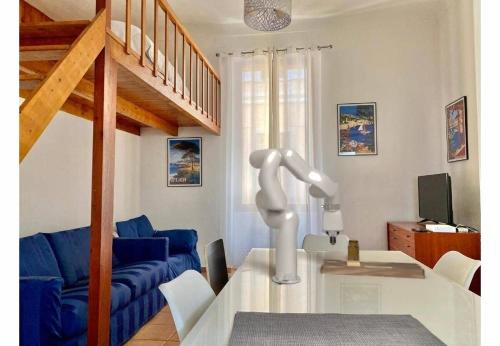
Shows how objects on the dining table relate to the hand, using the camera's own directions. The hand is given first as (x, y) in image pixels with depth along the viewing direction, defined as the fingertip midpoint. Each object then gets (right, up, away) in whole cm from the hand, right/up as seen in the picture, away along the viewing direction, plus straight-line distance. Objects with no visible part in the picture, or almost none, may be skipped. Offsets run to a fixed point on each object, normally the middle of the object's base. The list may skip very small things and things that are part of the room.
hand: (333, 244), depth 185 cm
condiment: (+16, -14, +18) cm, 28 cm away
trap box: (+17, -13, -5) cm, 22 cm away
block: (+9, -13, -3) cm, 16 cm away
